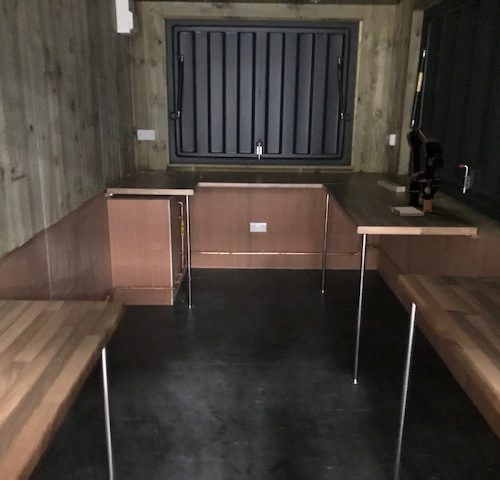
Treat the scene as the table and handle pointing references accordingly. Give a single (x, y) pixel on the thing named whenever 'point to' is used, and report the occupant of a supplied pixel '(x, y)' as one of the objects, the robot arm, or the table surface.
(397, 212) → the display board
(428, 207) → the grandmother figurine
